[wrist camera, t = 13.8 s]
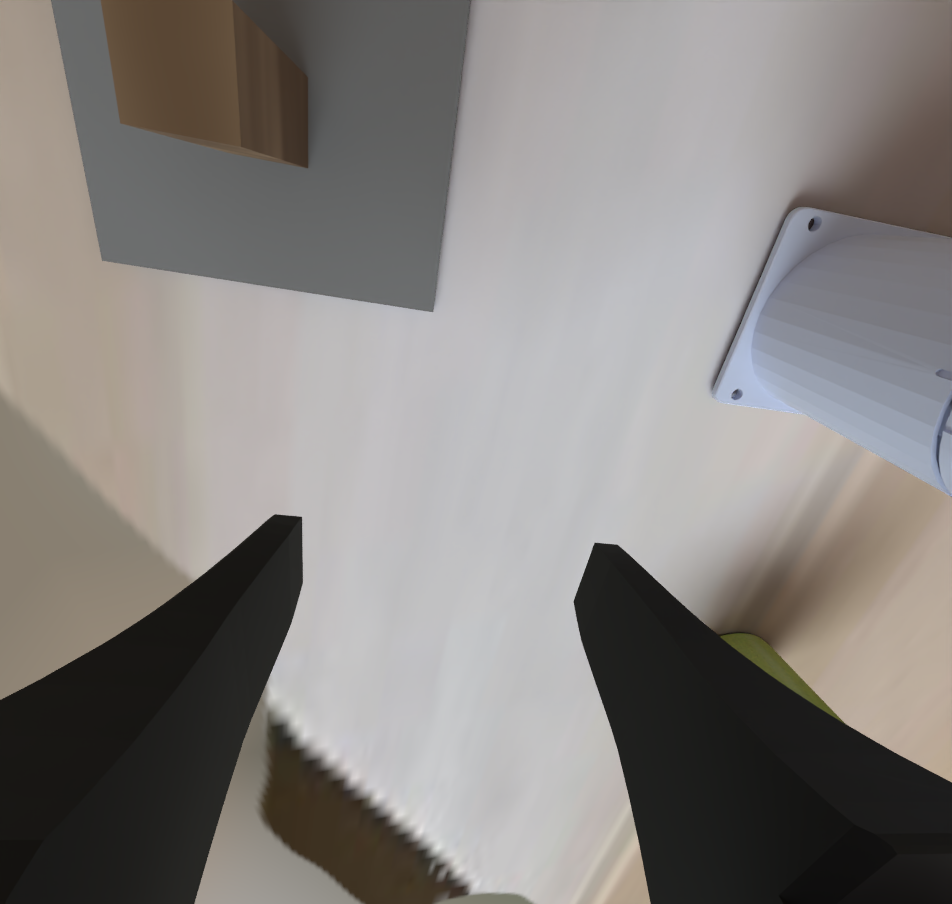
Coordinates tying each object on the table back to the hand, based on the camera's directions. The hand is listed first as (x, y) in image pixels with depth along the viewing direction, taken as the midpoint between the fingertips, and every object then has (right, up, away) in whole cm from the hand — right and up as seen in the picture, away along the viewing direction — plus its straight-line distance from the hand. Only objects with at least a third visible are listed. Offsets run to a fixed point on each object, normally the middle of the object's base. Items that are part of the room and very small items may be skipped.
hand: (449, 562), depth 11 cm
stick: (-6, +14, +4) cm, 15 cm away
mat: (-6, +14, +4) cm, 16 cm away
